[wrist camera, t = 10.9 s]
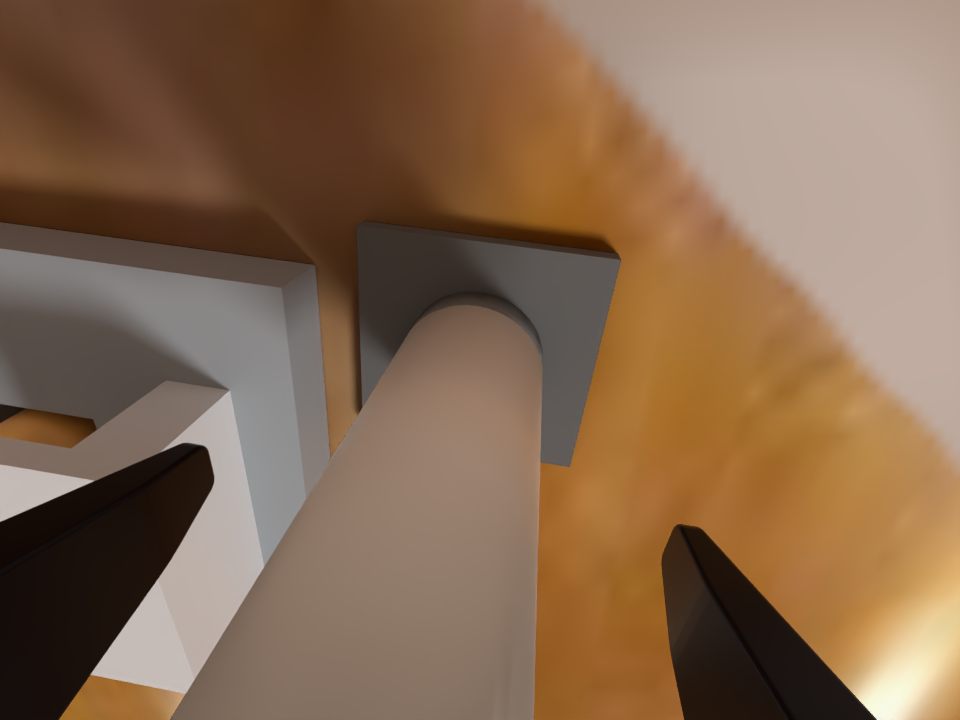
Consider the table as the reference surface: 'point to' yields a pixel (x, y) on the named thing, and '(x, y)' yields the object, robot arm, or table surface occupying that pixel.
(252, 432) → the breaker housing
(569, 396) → the pad
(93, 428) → the button
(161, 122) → the table surface
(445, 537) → the white cylinder
